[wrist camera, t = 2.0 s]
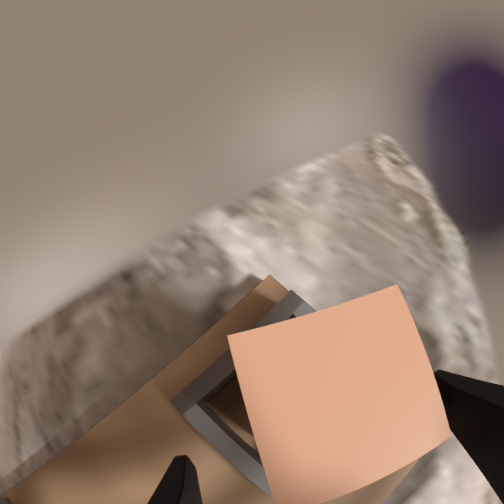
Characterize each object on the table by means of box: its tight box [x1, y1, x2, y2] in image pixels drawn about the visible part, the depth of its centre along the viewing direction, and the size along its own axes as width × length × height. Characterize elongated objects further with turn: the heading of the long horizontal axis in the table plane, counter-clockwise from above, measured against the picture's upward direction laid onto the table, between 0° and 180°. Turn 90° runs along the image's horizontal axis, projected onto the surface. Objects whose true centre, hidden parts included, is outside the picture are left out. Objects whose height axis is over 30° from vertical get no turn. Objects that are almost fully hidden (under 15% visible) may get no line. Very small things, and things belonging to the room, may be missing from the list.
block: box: [227, 285, 451, 504], centre depth 10 cm, size 4×4×12 cm
